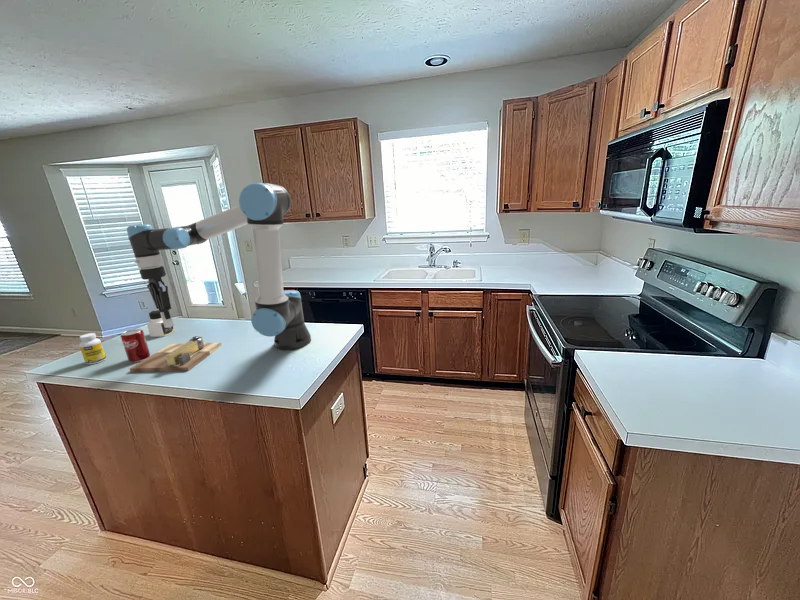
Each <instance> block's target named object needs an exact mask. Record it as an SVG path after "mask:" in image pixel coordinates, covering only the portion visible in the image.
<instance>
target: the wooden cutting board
mask: <svg viewBox="0 0 800 600" xmlns="http://www.w3.org/2000/svg"><path fill="white" fill-rule="evenodd" d="M183 344H184V343H170V344H168V345H167V346H165V347H163V348H162V349H160V350H158V351H157V352H156V353H154V354H150V357H148V358H146V359H145V360H143V361H141V362H137V364H135V365H133V366H131V367H130V368H129V371H130V373H146V372H147V373H151V372H154V373H155V372H189V371H191V370H192V369H194V367H196V366H197V365H199V363H201V362H202V361H204V360H205V359H206V358H207V357H209V356H210V355H212V354H213V353H215V351H216V350H218V349H220V348H221V347H222V346H223V345H222V342H204V347H203V348H201V349H199V350H197V351H196V352H194V353H193V354H191V355H189V353H184V354H183V355H181V356H180V357H178V359H179V363H178V364H177V365H168V362H167V359H166V355H167V354H169V353H170V352H172V351H174V350H175V349H177V348H179V347H180V346H182V345H183ZM216 352H217V351H216Z"/></svg>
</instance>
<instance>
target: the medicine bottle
mask: <svg viewBox="0 0 800 600" xmlns="http://www.w3.org/2000/svg"><path fill="white" fill-rule="evenodd" d="M148 316H149V319H150V321H149V322H147V323H146V325H147V329H148V330H147V331H148V332H149V335H150V338H156V337H157V338H160V337H161V338H162V337H166V336H168V335H169V334H171V333H173V332H175V329H174V326H171V327H167V328H165V326H164V323H163V320H162V317H161V314H160V312H159V310H158V309H156V310H152V311H150V312H149V313H148Z"/></svg>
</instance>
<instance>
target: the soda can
mask: <svg viewBox="0 0 800 600" xmlns="http://www.w3.org/2000/svg"><path fill="white" fill-rule="evenodd" d="M120 339H121V342H122V345H123V349H124V351H125V354H126V357H127V361H128V362H130V363H131V364H132V363H134V364H135V363H140V362H141V361H143V360H145V359H146V358H148V357H150V356H151V352H150V349H149V345H148V343H147V340H146V337H145V332H144V330H143V329H142V328H135V329H130V330H126V331H124V332H121V334H120Z"/></svg>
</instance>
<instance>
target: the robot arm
mask: <svg viewBox="0 0 800 600" xmlns="http://www.w3.org/2000/svg"><path fill="white" fill-rule="evenodd" d="M238 197H239V198H238V203H239V204H238V205H236V206H234V207H230V208H228V209H225V210H224V211H221V212H219V213H218V212H217V213H216V214H213V215H211V216H209V217H206V218H203V219H201V220H199V221H196V222H193V223H192V224H188V225H182V226H176V227H166V228H157V229H156V228H155V229H154V228H153V226H152V224H148V223H144V224H136V225H129V226H127V227H126V232H127V236H128V240H129V243H130V246H131V249H132V252H133V255H134V258H135V260H134V264H137V267H138V269H139V274H140V277H141V279H142V280H148V284H146V287H147V289H148V291H149V293H150V295H151V297H152V300H153V302H154V306H155V308H156V310H159V312H160V314H161V317H162V320H163V323H164V326H165V328H167V327H171V326H173V327H174V325H175V324H174V321H173V318H172V314H171V311H170V310H171V309H172V305H171V301H170V296H169V287H168V285H166V284H165V282H164V281H163V279H162V278H163V277H165V276H166V275H167V273H166V270H165V267H164V266H163V264H164V263H163V259H162V256H161V252H160V251H166V250H179V249H180V250H181V249H186V248H188V247H189V246H193V245H194V246H195V245H201V244H203V243H205V242H207V241H208V240H210V239H212V238H216V237H218V236H221V235H224V234H227V233H229V232H232V231H234V230H237V229H239V228H242V227H244V226H247V225H248V227H249V226H250V228H251V229H252V233H253V245H254V254H255V257H254V258H255V266H256V276H257V277H256V278H257V287H258V296H257V297H256V298H255V299H254V304H255V311H254V312H253V314H252V315H251V320H250V321H251V325H252V327H253V329H254V330H255V331H256V332H257V333H258V334H260V335H262V336H264V337H271V338H272V337H273V338H274V340H273V344H274V347H275V349H277V350H282V351H283V350H284V351H287V350H289V351H290V350H295V349H300V348H302V347H305V346H306V345H308V344H309V343H310V342H311V341H312V336H311V333H310V331H309V329H308V328H307V325H306V324H305V318H304V310H303V303H302V296H301V293H300V292H299V291H298V290H294V289H293V290H292V289H291V290H289V289H288V290H287V289H285V290H284V279H283V266H282V265H283V263H282V250H281V248H282V247H281V236H280V229H281V227H282V226H283V225H284V216H285V215H286V214H287V213H289V211H290V210H291V206H292V197H291V195H290V193H289V192H288V190H287V189H286V188H285V187H283V186H282V185H280V184H278V183H277V184H276V183H266V182H254V183H250V184H247V185H246V186H245V187H244V188H243V189H242V190H241V192H240V194H239V196H238Z"/></svg>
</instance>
